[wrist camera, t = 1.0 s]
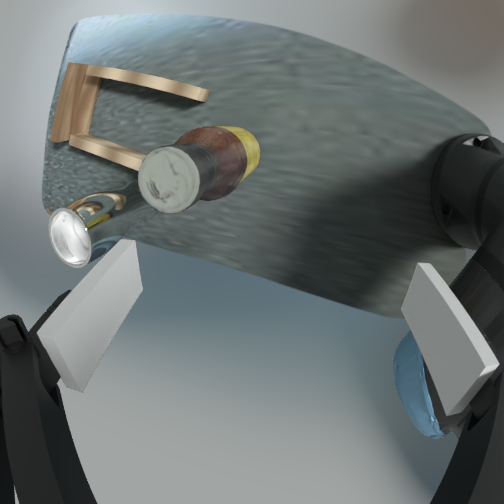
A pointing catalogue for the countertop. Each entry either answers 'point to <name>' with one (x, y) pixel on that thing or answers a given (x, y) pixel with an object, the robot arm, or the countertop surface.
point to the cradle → (83, 103)
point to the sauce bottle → (197, 167)
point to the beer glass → (96, 223)
